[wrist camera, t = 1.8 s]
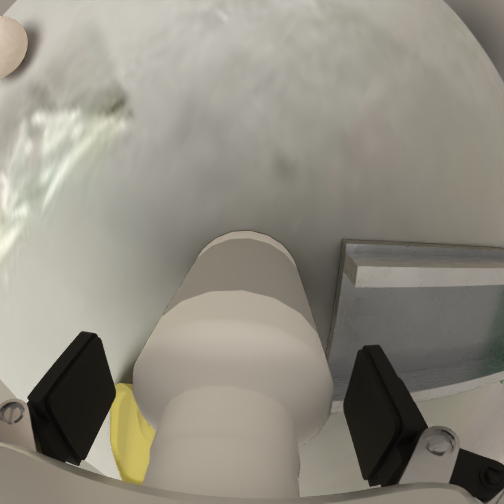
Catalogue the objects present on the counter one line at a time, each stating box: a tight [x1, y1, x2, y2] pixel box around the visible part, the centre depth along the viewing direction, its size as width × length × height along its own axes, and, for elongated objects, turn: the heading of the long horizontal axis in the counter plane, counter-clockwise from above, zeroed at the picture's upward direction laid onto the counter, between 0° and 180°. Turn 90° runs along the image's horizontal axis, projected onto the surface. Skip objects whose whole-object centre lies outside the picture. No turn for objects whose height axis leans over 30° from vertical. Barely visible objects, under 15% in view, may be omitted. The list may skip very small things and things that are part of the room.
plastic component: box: [110, 383, 156, 485], centre depth 22 cm, size 20×7×10 cm
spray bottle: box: [132, 231, 334, 498], centre depth 11 cm, size 7×7×18 cm
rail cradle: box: [325, 239, 504, 413], centre depth 18 cm, size 12×19×4 cm, turn 89°
